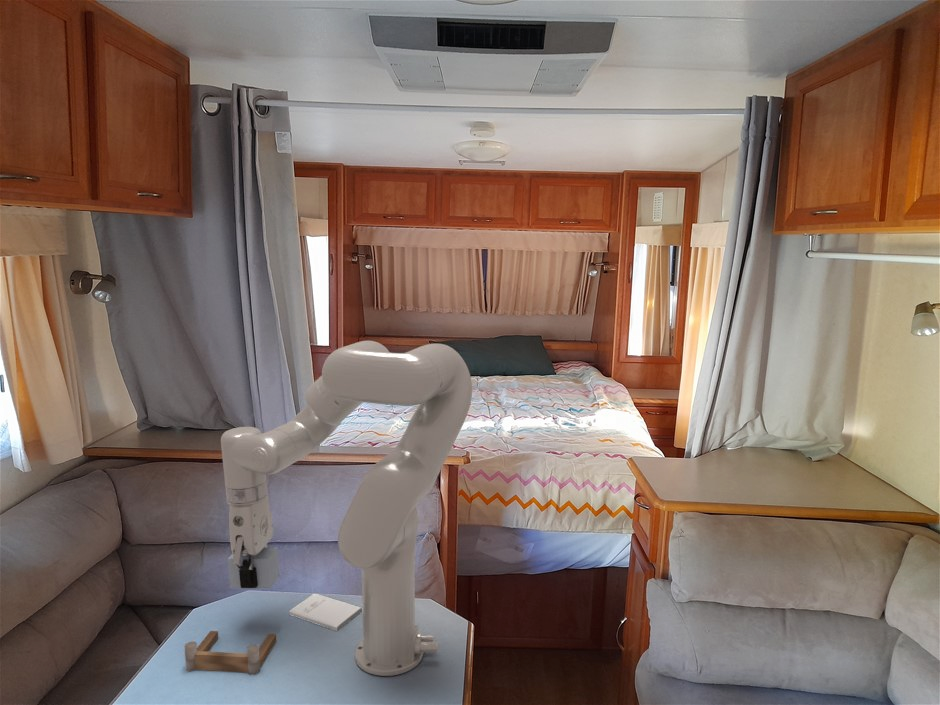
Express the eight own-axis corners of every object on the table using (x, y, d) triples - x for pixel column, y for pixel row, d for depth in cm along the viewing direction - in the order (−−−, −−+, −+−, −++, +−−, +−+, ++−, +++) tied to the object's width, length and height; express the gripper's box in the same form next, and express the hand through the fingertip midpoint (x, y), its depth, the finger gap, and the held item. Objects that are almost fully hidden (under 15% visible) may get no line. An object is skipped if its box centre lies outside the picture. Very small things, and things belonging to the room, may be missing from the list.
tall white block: (279, 575, 132) (277, 547, 131) (270, 588, 127) (267, 558, 126) (240, 575, 133) (238, 547, 132) (230, 588, 128) (227, 559, 127)
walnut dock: (277, 641, 127) (276, 619, 126) (257, 674, 117) (256, 651, 117) (209, 637, 128) (208, 616, 127) (183, 670, 118) (182, 647, 118)
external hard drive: (336, 634, 131) (289, 617, 136) (362, 614, 138) (315, 598, 143) (336, 626, 130) (288, 610, 136) (362, 606, 138) (315, 591, 143)
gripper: (247, 508, 119) (256, 603, 121) (281, 476, 135) (288, 559, 138) (207, 509, 119) (217, 602, 122) (245, 476, 136) (253, 560, 139)
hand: (255, 579), depth 130 cm, fingers closed on tall white block, 5 cm apart
